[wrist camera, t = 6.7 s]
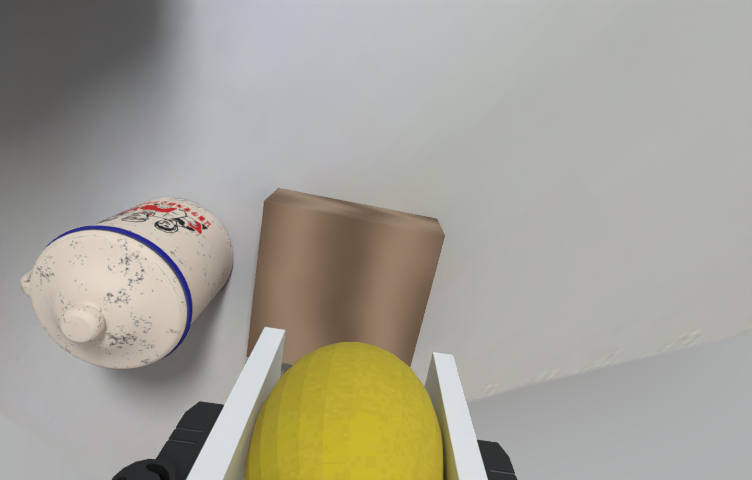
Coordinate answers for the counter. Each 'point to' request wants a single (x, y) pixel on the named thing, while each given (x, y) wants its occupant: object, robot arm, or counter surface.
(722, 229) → the counter surface
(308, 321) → the walnut plinth
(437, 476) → the lemon
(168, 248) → the teacup with lid
